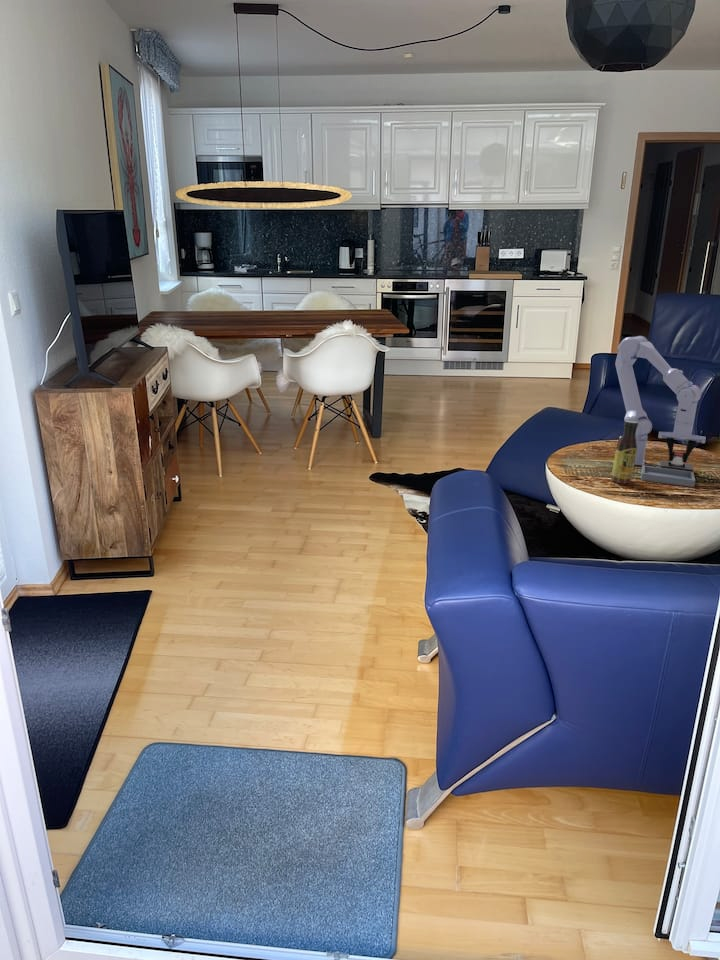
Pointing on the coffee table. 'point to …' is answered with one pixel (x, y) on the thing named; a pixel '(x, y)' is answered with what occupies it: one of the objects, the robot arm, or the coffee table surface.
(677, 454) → the small white jar
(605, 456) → the coffee table surface
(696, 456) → the coffee table surface
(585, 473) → the coffee table surface
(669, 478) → the tray
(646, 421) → the robot arm
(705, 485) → the coffee table surface
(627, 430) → the sauce bottle
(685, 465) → the hitch block
